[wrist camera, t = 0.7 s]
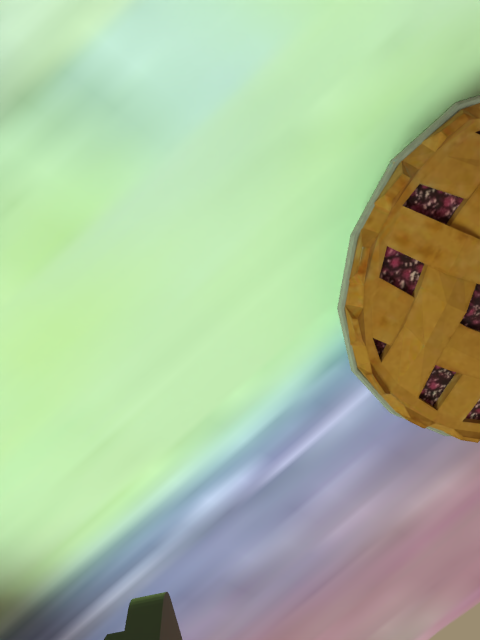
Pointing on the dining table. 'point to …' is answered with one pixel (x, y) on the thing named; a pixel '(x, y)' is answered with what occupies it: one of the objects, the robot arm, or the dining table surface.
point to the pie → (421, 280)
